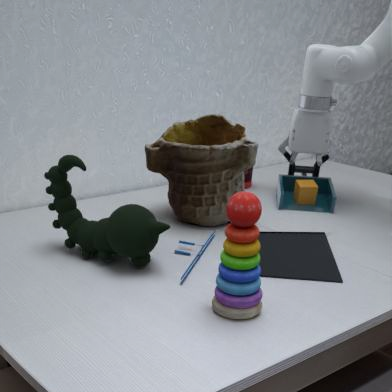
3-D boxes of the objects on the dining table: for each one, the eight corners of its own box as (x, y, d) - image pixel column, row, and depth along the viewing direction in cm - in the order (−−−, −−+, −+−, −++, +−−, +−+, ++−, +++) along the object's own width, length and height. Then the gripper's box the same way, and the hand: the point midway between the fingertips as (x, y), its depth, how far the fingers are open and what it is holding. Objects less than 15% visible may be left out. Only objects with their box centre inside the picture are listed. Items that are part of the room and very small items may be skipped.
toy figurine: (48, 261, 96) (159, 281, 86) (27, 158, 87) (150, 166, 76) (79, 246, 104) (185, 263, 93) (63, 148, 94) (180, 155, 84)
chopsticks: (153, 272, 87) (181, 277, 86) (191, 225, 107) (215, 229, 107) (152, 279, 88) (181, 285, 87) (191, 232, 108) (214, 236, 107)
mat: (319, 220, 119) (319, 218, 119) (342, 282, 91) (343, 281, 90) (243, 214, 120) (243, 213, 120) (243, 275, 91) (243, 273, 91)
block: (310, 196, 128) (313, 179, 125) (314, 204, 125) (318, 186, 122) (293, 196, 128) (295, 179, 125) (297, 204, 125) (300, 187, 122)
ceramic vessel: (183, 209, 95) (151, 83, 96) (150, 248, 118) (124, 146, 118) (284, 196, 103) (254, 80, 104) (235, 235, 126) (211, 140, 127)
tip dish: (325, 187, 134) (329, 166, 131) (332, 215, 122) (337, 192, 118) (275, 184, 135) (278, 163, 131) (278, 211, 123) (281, 188, 119)
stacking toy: (221, 293, 85) (230, 180, 75) (267, 304, 82) (282, 188, 72) (204, 314, 79) (211, 194, 68) (252, 326, 76) (267, 203, 66)
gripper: (347, 103, 125) (333, 178, 135) (278, 99, 126) (269, 173, 136) (352, 108, 119) (337, 186, 129) (280, 103, 119) (270, 181, 129)
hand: (302, 179), depth 132 cm, fingers closed on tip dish, 5 cm apart
